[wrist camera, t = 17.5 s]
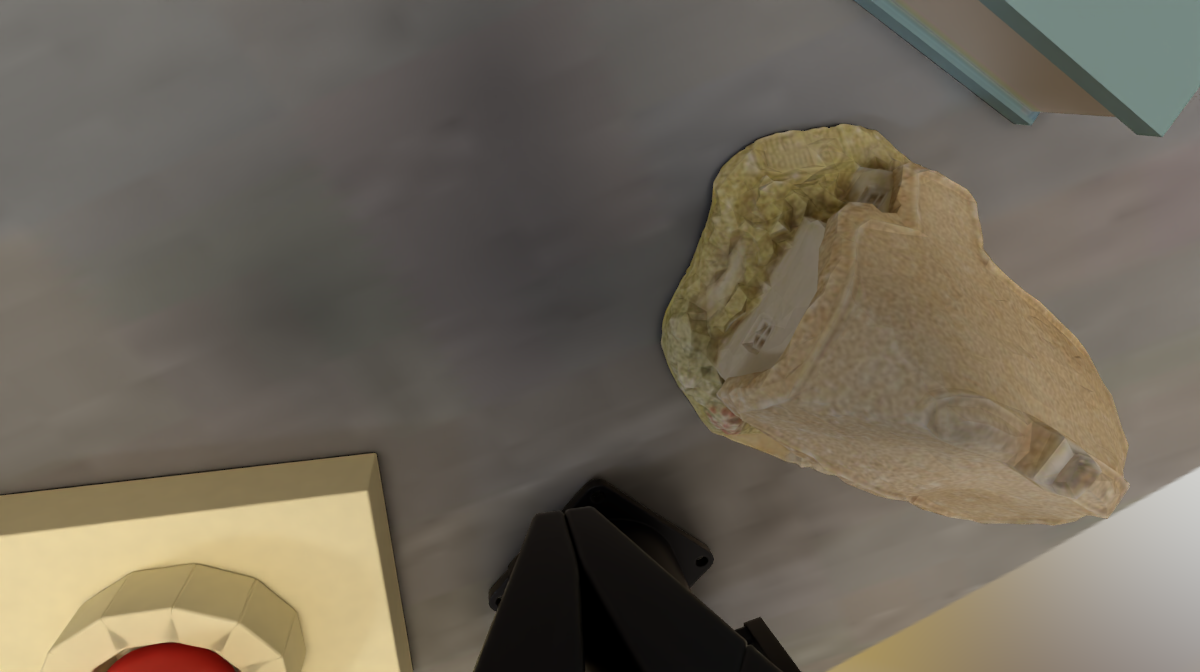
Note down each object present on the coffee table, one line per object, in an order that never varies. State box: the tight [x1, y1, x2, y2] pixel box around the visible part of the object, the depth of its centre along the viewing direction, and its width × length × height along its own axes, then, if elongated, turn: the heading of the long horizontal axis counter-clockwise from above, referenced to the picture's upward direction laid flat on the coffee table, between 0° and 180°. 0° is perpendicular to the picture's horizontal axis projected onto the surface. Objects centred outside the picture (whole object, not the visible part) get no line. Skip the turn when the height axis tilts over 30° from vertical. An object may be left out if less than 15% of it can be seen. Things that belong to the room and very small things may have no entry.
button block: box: [0, 453, 413, 672], centre depth 20 cm, size 12×10×4 cm
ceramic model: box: [661, 124, 1130, 525], centre depth 18 cm, size 14×11×10 cm
